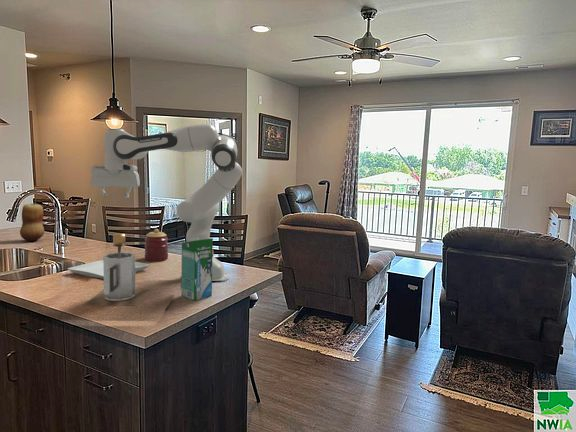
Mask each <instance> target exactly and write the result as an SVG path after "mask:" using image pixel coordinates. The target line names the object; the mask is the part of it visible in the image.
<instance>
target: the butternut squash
mask: <svg viewBox="0 0 576 432" xmlns="http://www.w3.org/2000/svg"><path fill="white" fill-rule="evenodd" d="M43 207H44V206H42V204H39V203H38V204H37V203H26V204H24V205H23V207H22V210H21V221H22V224H21V228H20V230H19V234H20V237H21V239H23V240H24V241H26V242H36V241H39V239H41V238H42V237H43V236H44V235H45V227H44V225H43V219H44V208H43Z"/></svg>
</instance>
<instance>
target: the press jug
mask: <svg viewBox="0 0 576 432" xmlns="http://www.w3.org/2000/svg"><path fill="white" fill-rule="evenodd" d="M102 258H103V259H102V260H103V266H104V279H103V289H104V299H105V300H107V301H112V302H119V301H126V300H130V299H132V298H134V297H135V289H136V272H135V262H136V254H134V253H132V252H121V258H118V252H112V253H111V252H110V253H107V254H104V256H103V257H102Z"/></svg>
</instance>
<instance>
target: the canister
mask: <svg viewBox="0 0 576 432" xmlns="http://www.w3.org/2000/svg"><path fill="white" fill-rule="evenodd" d="M145 236H146V237H145V238H144V241H145V243H144V260H146V261H149V262H162V261H166V260H168V258H169V243H168V240H169V238H168V237H167V234H166V233H165V232H163V231H160V230H159V229H158V228H155V229H154V230H153V231H150V232H148V233H146V235H145Z"/></svg>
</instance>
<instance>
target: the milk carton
mask: <svg viewBox="0 0 576 432" xmlns="http://www.w3.org/2000/svg"><path fill="white" fill-rule="evenodd" d="M213 239H214V238H213V237H212V238H211V237H210V239H203V240H199V237H197V238H191V239H190V242H186V241H184V242H181V282H180V283H181V285H180V286H181V290H180V292H181V293H180V294H181V296H182V297H183V298H186V299H189V300H191V301H194V302H195V301H199V300H202V298H203V299H206V298H209V296H210V297H212V295H213V292H212V291H213V282H212V252H214V249H213V247H214V246H213V243H214V241H213ZM205 297H206V298H205Z"/></svg>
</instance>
